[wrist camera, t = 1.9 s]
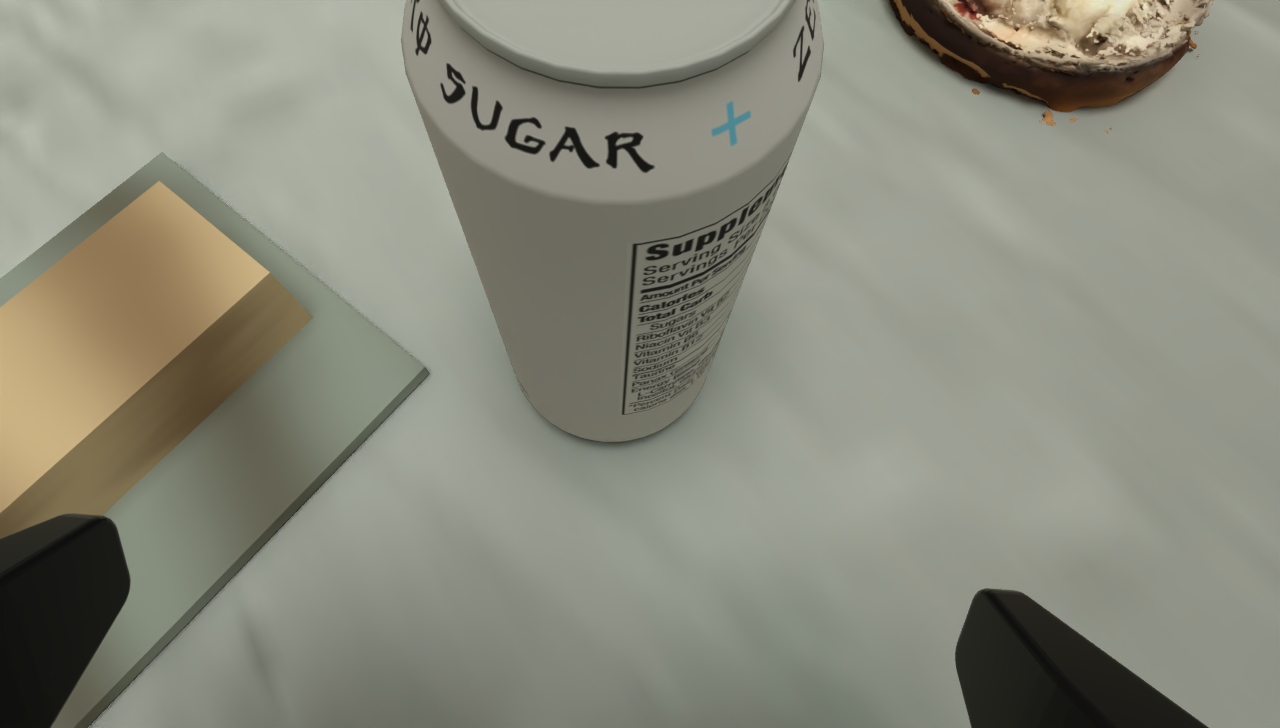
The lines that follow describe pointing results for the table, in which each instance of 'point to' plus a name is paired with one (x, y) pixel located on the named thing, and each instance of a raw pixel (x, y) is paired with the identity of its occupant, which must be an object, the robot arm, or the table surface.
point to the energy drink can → (612, 180)
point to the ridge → (177, 399)
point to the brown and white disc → (1057, 44)
